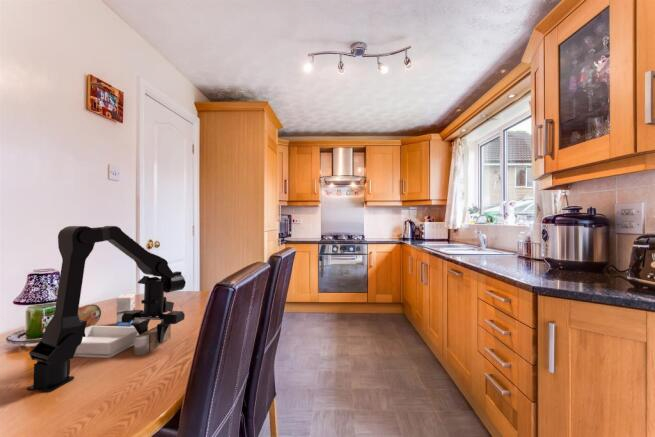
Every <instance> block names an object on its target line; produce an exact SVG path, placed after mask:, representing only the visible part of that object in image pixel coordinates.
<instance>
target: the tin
mask: <svg viewBox="0 0 655 437" xmlns="http://www.w3.org/2000/svg"><path fill="white" fill-rule="evenodd" d="M78 316H79V319H80V320H84V321H87V325H86V328H87V327H89V326H92V325H93V326H96V324H97V323H98V322H99V320H100V319H101V316H102V310H101V307H100V306H98V305H97V304H87V305H82V306H79V310H78Z"/></svg>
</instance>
